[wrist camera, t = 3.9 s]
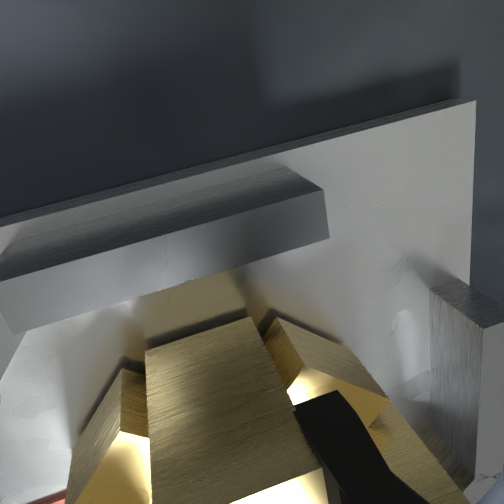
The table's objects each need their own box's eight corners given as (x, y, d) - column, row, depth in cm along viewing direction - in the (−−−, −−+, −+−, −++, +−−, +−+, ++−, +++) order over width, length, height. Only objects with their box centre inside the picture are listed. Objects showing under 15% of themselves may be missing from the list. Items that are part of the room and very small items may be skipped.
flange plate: (447, 486, 21) (567, 643, 15) (69, 645, 18) (40, 913, 13) (452, 98, 13) (717, 120, 7) (-235, 279, 10) (-731, 564, 4)
